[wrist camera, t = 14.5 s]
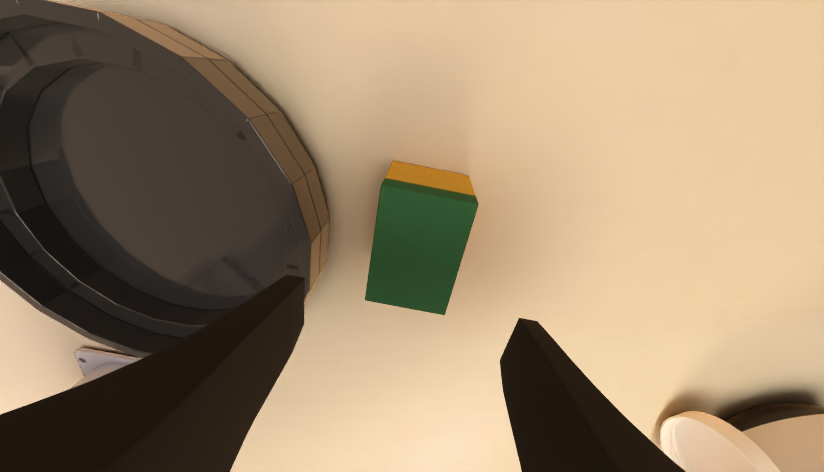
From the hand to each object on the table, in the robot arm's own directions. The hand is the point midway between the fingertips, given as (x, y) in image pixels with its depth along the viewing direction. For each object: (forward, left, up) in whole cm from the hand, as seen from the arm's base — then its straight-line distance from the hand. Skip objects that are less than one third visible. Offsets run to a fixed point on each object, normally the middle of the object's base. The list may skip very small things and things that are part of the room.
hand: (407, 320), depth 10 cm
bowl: (-2, +14, -8) cm, 16 cm away
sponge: (0, 0, -8) cm, 8 cm away
